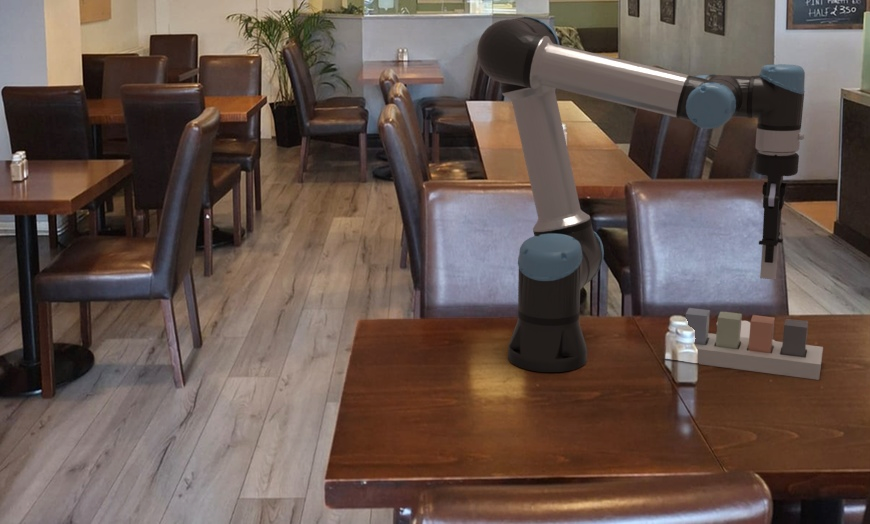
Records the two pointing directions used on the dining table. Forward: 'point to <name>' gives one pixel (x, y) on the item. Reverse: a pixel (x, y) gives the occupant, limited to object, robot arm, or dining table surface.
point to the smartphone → (745, 329)
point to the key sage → (728, 330)
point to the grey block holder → (761, 359)
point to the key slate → (699, 324)
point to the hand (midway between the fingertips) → (768, 277)
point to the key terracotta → (761, 334)
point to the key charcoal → (794, 337)
